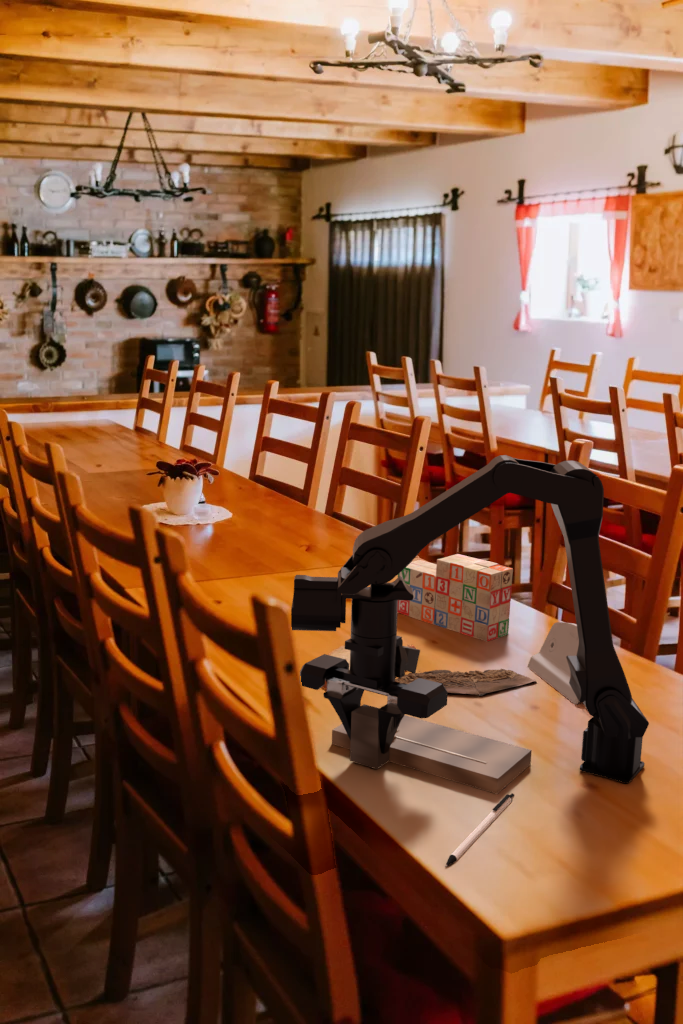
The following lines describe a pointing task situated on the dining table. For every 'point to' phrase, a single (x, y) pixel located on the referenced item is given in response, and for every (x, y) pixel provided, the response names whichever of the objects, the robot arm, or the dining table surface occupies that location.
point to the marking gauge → (366, 738)
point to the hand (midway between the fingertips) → (370, 748)
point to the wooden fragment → (471, 680)
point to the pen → (479, 829)
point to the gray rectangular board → (452, 754)
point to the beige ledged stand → (557, 658)
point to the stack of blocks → (460, 595)
